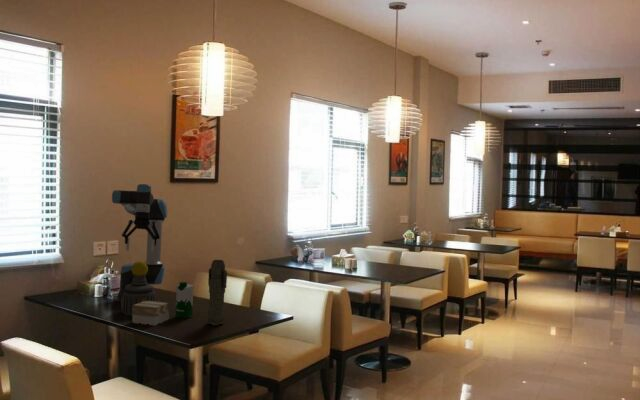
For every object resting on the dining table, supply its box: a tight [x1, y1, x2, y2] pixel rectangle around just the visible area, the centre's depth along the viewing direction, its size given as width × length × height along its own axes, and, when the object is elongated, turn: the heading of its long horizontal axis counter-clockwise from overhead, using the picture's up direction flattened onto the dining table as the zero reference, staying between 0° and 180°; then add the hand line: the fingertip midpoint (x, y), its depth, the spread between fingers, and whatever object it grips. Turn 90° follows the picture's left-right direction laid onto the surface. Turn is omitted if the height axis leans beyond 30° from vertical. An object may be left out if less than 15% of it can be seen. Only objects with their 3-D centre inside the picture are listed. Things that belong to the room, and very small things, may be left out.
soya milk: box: [174, 281, 195, 319], centre depth 331 cm, size 9×9×20 cm
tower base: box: [131, 311, 170, 326], centre depth 319 cm, size 14×14×5 cm
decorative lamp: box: [120, 260, 157, 317], centre depth 336 cm, size 19×19×30 cm
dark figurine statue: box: [207, 259, 228, 324], centre depth 319 cm, size 9×12×35 cm
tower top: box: [132, 300, 170, 317], centre depth 318 cm, size 14×14×5 cm
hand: (140, 250), depth 316 cm, fingers open, 13 cm apart
